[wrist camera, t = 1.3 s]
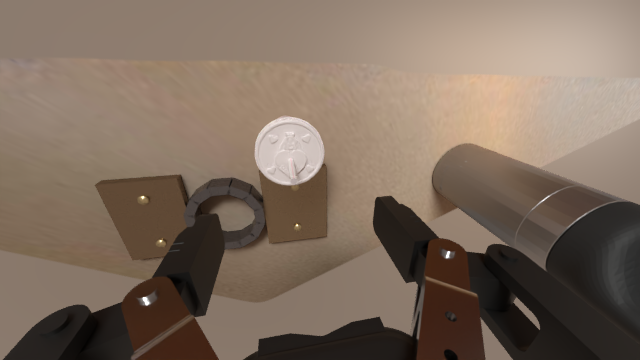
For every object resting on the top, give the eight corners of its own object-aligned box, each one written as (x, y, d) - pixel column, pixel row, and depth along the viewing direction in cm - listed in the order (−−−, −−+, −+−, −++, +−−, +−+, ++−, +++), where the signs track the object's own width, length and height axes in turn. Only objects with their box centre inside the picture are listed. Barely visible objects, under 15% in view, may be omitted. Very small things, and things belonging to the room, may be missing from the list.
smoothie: (263, 154, 30) (253, 214, 17) (258, 104, 27) (242, 131, 15) (311, 153, 31) (334, 208, 18) (311, 104, 28) (338, 130, 16)
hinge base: (324, 163, 32) (328, 170, 30) (325, 231, 37) (328, 241, 35) (101, 180, 28) (86, 190, 25) (137, 254, 33) (127, 267, 31)
